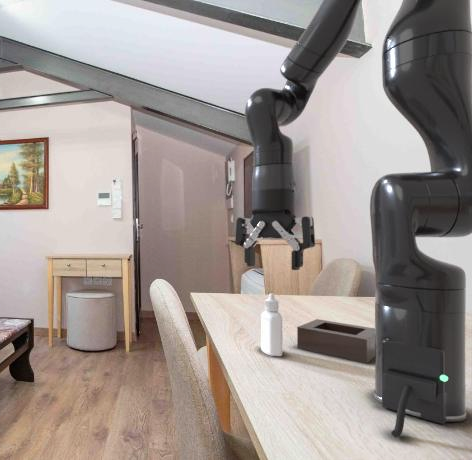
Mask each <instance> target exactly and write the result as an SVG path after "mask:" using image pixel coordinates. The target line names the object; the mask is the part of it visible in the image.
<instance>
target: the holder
mask: <svg viewBox="0 0 472 460" xmlns="http://www.w3.org/2000/svg"><path fill="white" fill-rule="evenodd" d="M296 332H297V333H296V335H297V336H296V339H297V340H296V341H297V342H296V343H297V344H296V345H297V346H296V347H297V349H299V350H304V351H309V352H313V353H316V354H322V355H326V356H331V357H335V358H341V359H345V360H348V361H349V360H350V361H353V362H358V363H363V364H368V363H369V362H371V361H372V360H373V359H375V327H369V326H363V325H356V324H351V323H344V322H339V321H338V322H337V321H332V320H324V319H319V318H316V319H313V320H311V321H309V322H307V323H304V324H302V325H299V326H297V331H296Z"/></svg>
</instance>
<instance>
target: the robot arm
mask: <svg viewBox="0 0 472 460" xmlns="http://www.w3.org/2000/svg"><path fill="white" fill-rule="evenodd" d="M361 3H362V0H322V1H321V3H320V5H319V7H318V8H317V11H316V12H315V14H314V15H313V17H312V19H311V20H310V22H309V23H308V25H307V27H306V28H305V29H304V31H303V33H302V34H301V35H300V36H299V38H298V40H297V41H296V43H295V44H294V46H293V47H292V49H291V50H290V51H289V53H288V54H287V55H286V57H285V59H284V60H283V61H282V63H281V66H280V68H279V71H280V75H281V76H282V77H283V78H284V79H285V80H286V81H285V85H284V86H283V88H282V89H278V88H272V87H262V88H259V89H256V90H255V91H254V92H252V93H251V94H250V95H249V98H248V99H247V101H246V104H245V109H244V119H245V124H246V127H247V131H248V134H249V138H250V141H251V144H252V147H253V170H252V177H251V178H252V179H251V212H252V215H251V217H250V218H247V217H237V218H236V223H235V224H236V225H235V236H234V237H235V238H234V239H235V240H234V243H235V245H237V246H240V247H243V250H244V263H245V264H246V266H247V267H255V266H256V248H255V246H256V245H257V244H258V243H259V242H260V241H261V240H262V239H271V238H272V239H283V240H284V241H285V242H286V243H288V245H289V246H290V247H291V249H292V250H291V270H292V271H299V270H300V269H301V268H303V266H304V252H305V250H308V249H311V248H314V247H315V246H316V235H315V221H314V217H312V216H310V215H309V216H302V217H296V215H295V210H296V209H295V207H296V206H295V205H296V203H295V201H296V200H295V198H296V197H295V195H296V194H295V193H296V191H295V188H296V178H295V177H296V176H295V170H294V143H293V139H292V138H291V137H290V136H288V135H286V134H284V133H283V132H282V131H281V129H280V127H281V128H282V127H286V126H289V125H290V124H292V123H294V122H295V121H296V120H297V119H298V118H300V116H301V115H302V113H303V112H304V111H305V109H306V107H307V105H308V103H309V100H310V98H311V97H312V94H313V92H314V90H315V89H316V88H315V87H316V85H317V83H318V81H319V79H320V77H321V76H322V75H324V73H325V72H326V70H327V69H328V68H329V66H330V65H331V64H332V63H333V61H334V60H335V59H336V57H337V56H338V55H339V54H340V52H341V51H342V49H343V48H344V46H345V45H346V43H347V41H348V39H349V38H350V35H351V33H352V31H353V28H354V24H355V21H356V18H357V15H358V11H359V8H360V5H361ZM471 15H472V13H471V0H402V2H401V5H400V7H399V9H398V10H397V12H396V14H395V16H394V18H393V20H392V22H391V24H390V25H389V28H388V30H387V31H386V34H385V36H384V39H383V43H382V47H381V76H382V77H381V80H382V81H381V82H382V88H383V91H384V93H385V95H386V98H387V99H388V100H389V102H390V103H391V105H393V107H394V108H395V109H396V110H397V111H398V112H399V114H401V115H402V117H403V118H404V119H405V120H406V121H407V122H408V123H409V124H410V125H411V126H412V127H413V128H414V129H415V131H416V132H417V133H418V135H419V136H420V138H421V139H422V142H423V144H424V146H425V148H426V151H427V155H428V160H429V163H430V164H429V165H430V171H417V172H416V171H415V172H398V173H397V172H396V173H395V172H394V173H388V174H387V173H386V174H385V175H383V176H381V177H379V178H378V180H377V181H376V182H375V183H374V185H373V187H372V189H371V195H370V200H369V218H370V229H371V230H370V231H371V248H372V250H371V251H372V254H371V255H372V262H373V267H374V285H375V286H374V292H375V293H374V297H375V299H374V301H375V302H374V328H375V357H374V391H373V397H374V399H375V400H376V401H378V402H379V403H380V404H381V407H382V408H384V409H388V410H391V411H395V412H396V416H395V417H396V418H395V425H394V429H393V430H391V436H393V437H394V438H399V437H400V436H401V435H402V433H403V431H404V426H405V419H406V418H405V417H406V415H410V416H413V417H417V418H421V419H423V420H426V421H431V422H434V423H438V424H442V425H444V424H445V423H447V422H449V423H451V422H452V423H453V422H454V423H455V422H462V421H466V419H467V409H466V310H467V309H466V307H467V305H466V304H467V303H466V301H467V300H466V298H467V295H466V287H467V277H466V271H465V270H464V269H463V268H462V267H461V266H458V265H456V264H453V263H449V262H445V261H441V260H439V259H436V258H434V257H432V256H430V255H428V254H426V253H424V252H423V251H421V249H419V246H418V243H417V238H463V237H467V236H469V235H471V234H472V17H471ZM250 225H251V226H252V228H253V230H252V232H251V233H250V234H249V236H248V238H247V235H248V233H247V232H248V228H249V227H250ZM296 225H298V227H299V228H300V229H301V231H302V232H301V233H302V241H301V240H300V239H299V236H298V235H297V234H296V233H295V232H294V231H293V229H294V227H295V226H296Z"/></svg>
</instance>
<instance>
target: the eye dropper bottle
mask: <svg viewBox="0 0 472 460" xmlns="http://www.w3.org/2000/svg"><path fill="white" fill-rule="evenodd" d="M260 350H261V352H262V353H264V354H266V355H268V356H272V357H282V356H283V316H282V315H281V312H279V301H278V299H276V298H275V295H274V293H269V295H268V298H266V299H264V311H261V314H260Z"/></svg>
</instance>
